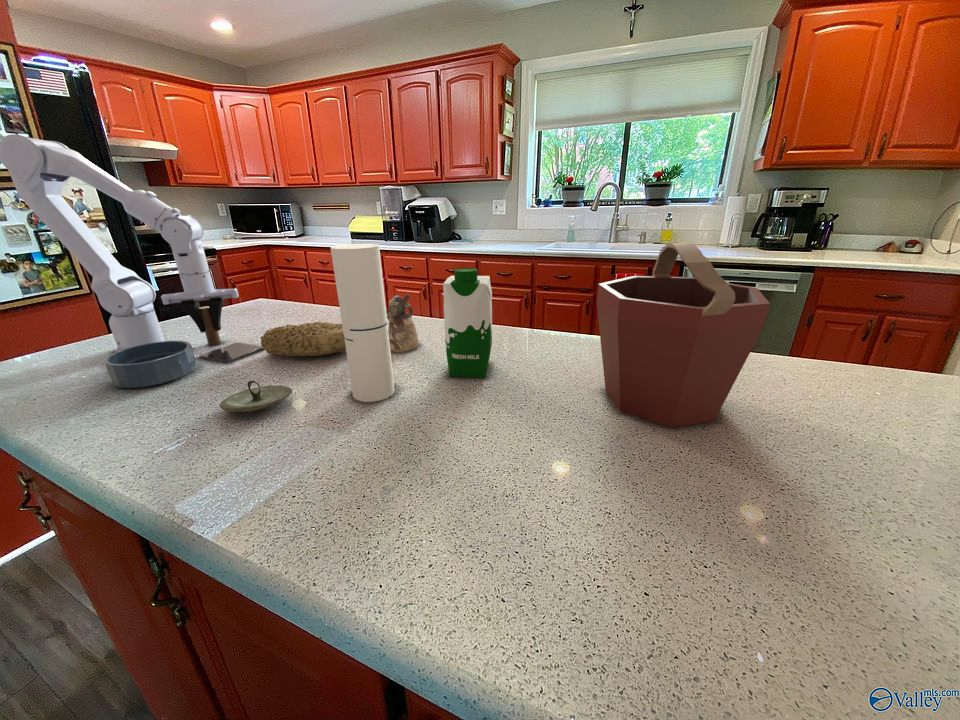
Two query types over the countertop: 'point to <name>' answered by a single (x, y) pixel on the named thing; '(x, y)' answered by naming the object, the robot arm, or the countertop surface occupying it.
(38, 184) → the robot arm
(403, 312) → the figurine
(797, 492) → the countertop surface
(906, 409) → the countertop surface
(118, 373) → the bowl
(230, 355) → the square mirror plate
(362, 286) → the cylindrical container
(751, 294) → the bucket
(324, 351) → the sponge
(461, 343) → the milk carton
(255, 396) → the lid
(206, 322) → the brown wooden peg
